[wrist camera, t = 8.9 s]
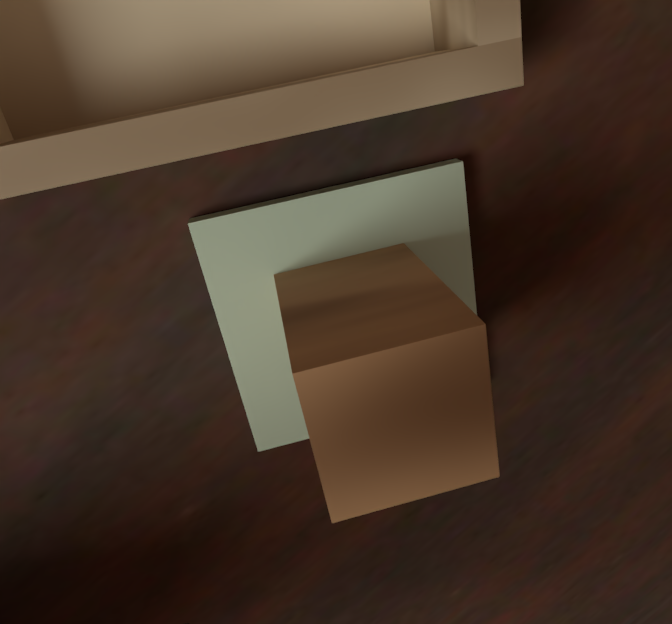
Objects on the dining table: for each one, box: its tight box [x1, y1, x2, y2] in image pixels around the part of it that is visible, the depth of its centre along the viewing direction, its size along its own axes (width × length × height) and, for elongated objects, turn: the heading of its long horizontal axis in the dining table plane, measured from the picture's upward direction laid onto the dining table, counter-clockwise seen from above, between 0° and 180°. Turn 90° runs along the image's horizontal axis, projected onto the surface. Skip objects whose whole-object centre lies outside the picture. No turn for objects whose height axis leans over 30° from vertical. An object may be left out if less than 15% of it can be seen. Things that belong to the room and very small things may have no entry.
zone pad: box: [188, 159, 477, 452], centre depth 18 cm, size 8×8×1 cm
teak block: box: [274, 243, 500, 523], centre depth 15 cm, size 4×4×6 cm
